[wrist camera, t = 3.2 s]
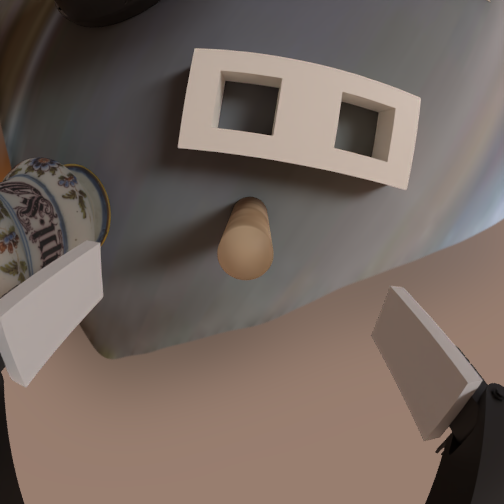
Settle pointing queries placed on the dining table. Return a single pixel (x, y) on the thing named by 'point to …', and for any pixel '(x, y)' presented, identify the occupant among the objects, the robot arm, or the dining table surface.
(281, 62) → the hole block
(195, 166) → the dining table surface
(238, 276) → the dowel
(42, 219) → the apothecary jar
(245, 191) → the dining table surface
